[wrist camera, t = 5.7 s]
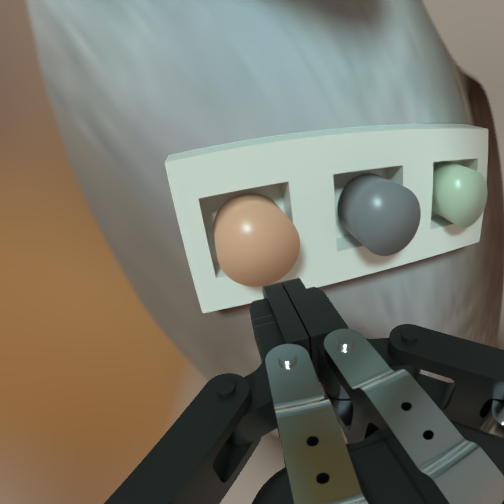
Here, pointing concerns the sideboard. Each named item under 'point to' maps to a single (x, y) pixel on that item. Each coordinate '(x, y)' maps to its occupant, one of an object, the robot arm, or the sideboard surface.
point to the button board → (318, 197)
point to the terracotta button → (254, 240)
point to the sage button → (458, 193)
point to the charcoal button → (379, 213)
